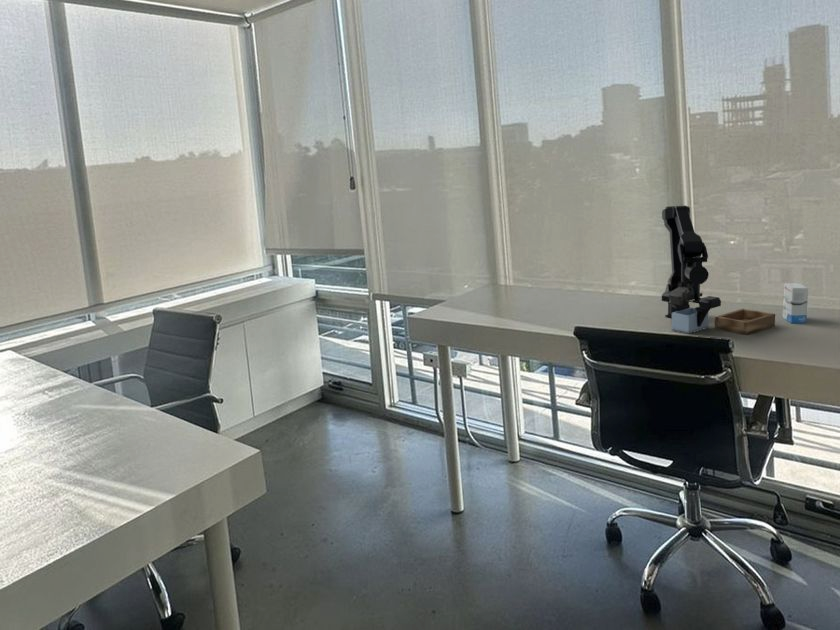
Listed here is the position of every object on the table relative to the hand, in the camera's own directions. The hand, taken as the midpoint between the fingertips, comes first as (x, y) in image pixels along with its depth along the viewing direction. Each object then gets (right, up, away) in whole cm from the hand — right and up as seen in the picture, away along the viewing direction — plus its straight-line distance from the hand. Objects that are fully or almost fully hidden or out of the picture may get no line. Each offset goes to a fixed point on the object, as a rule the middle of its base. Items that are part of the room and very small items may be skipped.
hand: (689, 324), depth 222 cm
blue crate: (0, -1, 0) cm, 2 cm away
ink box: (+35, +1, +2) cm, 35 cm away
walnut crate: (+17, -1, -2) cm, 17 cm away
